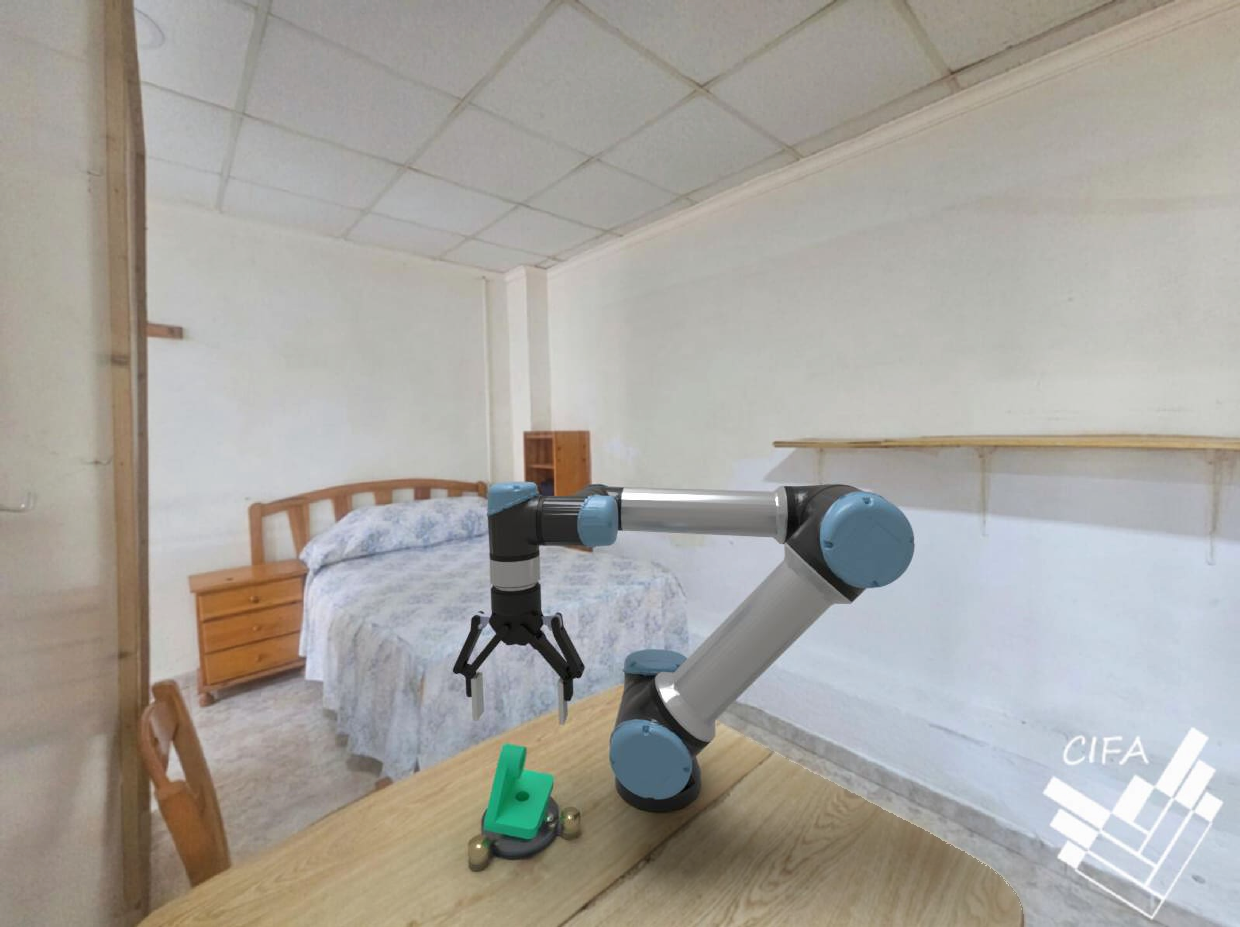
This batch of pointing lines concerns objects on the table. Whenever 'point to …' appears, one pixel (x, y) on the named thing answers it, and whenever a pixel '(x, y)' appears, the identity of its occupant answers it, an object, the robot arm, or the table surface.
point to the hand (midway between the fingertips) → (520, 718)
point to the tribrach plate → (520, 848)
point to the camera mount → (517, 796)
